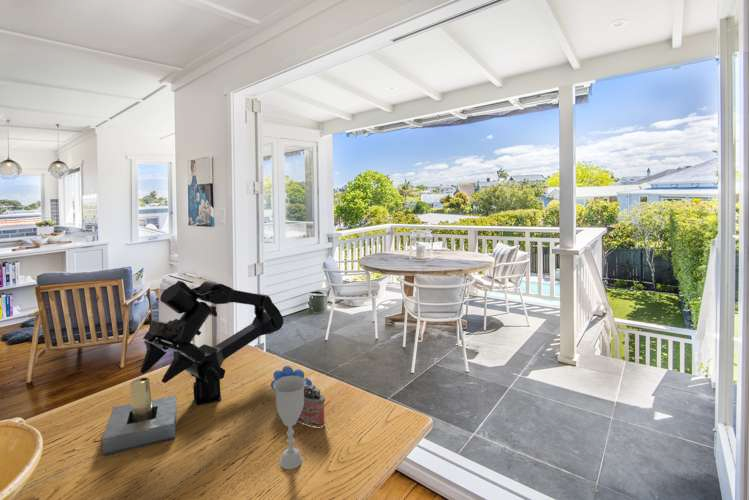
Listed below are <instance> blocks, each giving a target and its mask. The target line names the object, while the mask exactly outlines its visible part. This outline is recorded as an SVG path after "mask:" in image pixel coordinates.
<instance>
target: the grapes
mask: <svg viewBox="0 0 749 500" xmlns="http://www.w3.org/2000/svg"><path fill="white" fill-rule="evenodd" d="M286 376H299V377H302V378H304V379H305V380H306V384H305V385H308V386H312V385H313V382H312V380H311V379H309V378H307V377H305V373H304V371H303V370H302V369H300V368H297V369H293V368H292V366H289V365H286V366H285V365H284V367H282V370H278V369H277V370H275V371H274V372H273V380H272V381H271V382H270V387H271V389H272V390H273V392H274V391H275V392H276V390H275V389H274V387H273V384H274V383H275V381H277V380H278V379H280V378H282V377H286Z"/></svg>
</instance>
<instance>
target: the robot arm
mask: <svg viewBox="0 0 749 500" xmlns="http://www.w3.org/2000/svg"><path fill="white" fill-rule="evenodd" d="M159 300H160V302H161V303H163V304H164V305H165V306H167V307H168V308H170V309H171V310H173V311H174V312H175V313H177V314H179V315H181V314H182V315H181V317H180V318H179V319H178V318H175V319H173V320H169V321H168V322H166V321H160V320H155V319H153V320H151V322H150V326H149V327H148V331H147V332H146V333H145V335H144V336H143V337H142V339H143V340H144V341H143V343H144V344H145V346H146V352H145V356H144V359H143V363H142V365H141V368H140V371H139V373H141V374H142V375H143V374H144V375H145V374H146V373H147V372H148V371H149V370H150V369H152V367H153V366H155V364H156V363H158V362H159V361H160V359H162V358H163V357H164V356H165V355H166V354H167V352H166V351H167V350H169V349H171V350H174V351H173V360H172V362H171V363H170V365H169V367H168V368H167V370H166V371H165V373H164V375H163V376H162V378H161V383H164V384H166V383H168V382H170V381H171V380H172V379H173V378H175V377H176V376H178V375H179V374H181V373H182V372H184V371H186V372H187V373H189V375H190V376H191V377H193V378H195V381H194V382H193V399H194V401H195V404H196V405H197V406H198V405H202V404H203V405H204V404H208V403H213V402H217V401H222V393H221V379H224V378H225V374H226V369H224V368H223V367H222V365H223V363H224V361H225V360H226V359H228V358H229V357H230V356H232V355H233V354H235V353H237V352H238V351H240V350H242V349H243V348H244V347H246V346H247V345H249V344H251V343H252V342H253V341H255V340H256V339H258V338H259V337H260V336H264V335H271V334H273V333H275V332H278V331H279V330H281V329H282V328H283V325H284V317H283V315H282V314H281V311H280V310H279V309H278V307H277V306H276V305H275V304H274V303H273V300H272V299H271V297H270V296H269V295H267V294H262V293H254V292H253V293H252V292H247V291H243V290H237V289H235V288H232V287H230V286H228V285H225V284H223V283H219V282H213V281H210V280H206V281H203V282H202V283H201V284H200V285H199V286H197V287H193V288H190V287H189V286H188V285H187V283H185V282H184V281H181V280H177V281H176V283H174V284H171V285H169V286H168V287H167V288H165V289H164V290H163V292H162V293H161V295H160V298H159ZM198 300H200V301H198ZM207 303H210V304H214V305H223V304H224V305H225V304H227V305H228V304H230V303H236V304H243V305H249V306H250V305H251V306H254V307H253V308H254V311H253V312H254V315H255V317H254V318H253V321H251V324H249V325H247V326H245V327H243V328H242V329H241V330H239V331H237V332H235V333H234V334H232V335H231V336H229V337H228V338H226V339H224V340H223V341H221V342H220V343H217V344H216V345H215V346H211V345H208V344H202V345H200V346H199V347H198V346H197V345H195V344H194V343H192V341H193V340H194V338H195V337H196V336H200V335H201V334H202V331H200V329H201V328H202V326H203V325H204V324H205V322H206V320H207V319H208V318H209V316H212V317H215V318H217V317H218V313H217V307H216V306H213V305H209V304H207Z"/></svg>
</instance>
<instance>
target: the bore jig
mask: <svg viewBox="0 0 749 500" xmlns="http://www.w3.org/2000/svg"><path fill="white" fill-rule="evenodd" d="M151 403H152V416H153V419H151V420H146V421H141V422H136V423H133V411H132V403H127V404H122V405H118V406H113V407H112V410H111V413H110V415H109V419H108V421H107V424H106V427H105V430H104V432H103V436H102V438H101V443H102V454H103V456H107V455H113V454H116V453H117V454H118V453H121V452H125V451H129V450H133V449H138V448H141V447H147V446H151V445H155V444H159V443H163V442H168V441H171V440H175V439H176V430H177V429H176V427H177V414H178V413H177V412H178V411H177V395H171V396H170V395H169V396H166V397H165V396H164V397H159V398H154V399H151Z"/></svg>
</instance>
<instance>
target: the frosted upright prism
mask: <svg viewBox="0 0 749 500" xmlns="http://www.w3.org/2000/svg"><path fill="white" fill-rule="evenodd" d="M150 379H151V378H148V377H139V378H136V379H134V380H132V381H131V382H130V383H129V386H130V387H129V388H130V398H131V399H130V400H131V404H132V411H133V423H136V422H141V421H146V420H151V419H153V416H152V403H151V400H152V393H151V382H150Z"/></svg>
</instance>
